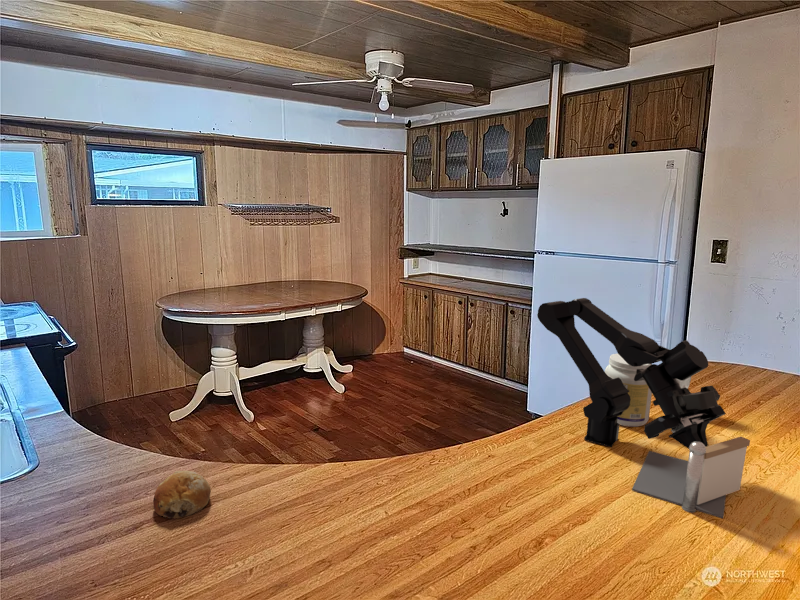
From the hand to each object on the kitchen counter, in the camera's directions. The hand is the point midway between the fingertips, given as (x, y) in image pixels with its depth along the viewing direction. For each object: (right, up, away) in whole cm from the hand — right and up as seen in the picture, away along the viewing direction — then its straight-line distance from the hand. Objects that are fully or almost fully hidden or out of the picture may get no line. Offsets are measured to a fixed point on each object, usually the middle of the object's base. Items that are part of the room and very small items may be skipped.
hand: (708, 460), depth 106 cm
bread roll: (-104, -6, -7) cm, 104 cm away
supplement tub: (-2, 0, +36) cm, 36 cm away
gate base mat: (-3, -6, +4) cm, 8 cm away
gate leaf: (+1, -6, -2) cm, 7 cm away
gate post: (-7, -8, -5) cm, 12 cm away
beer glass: (+15, +1, +42) cm, 45 cm away
